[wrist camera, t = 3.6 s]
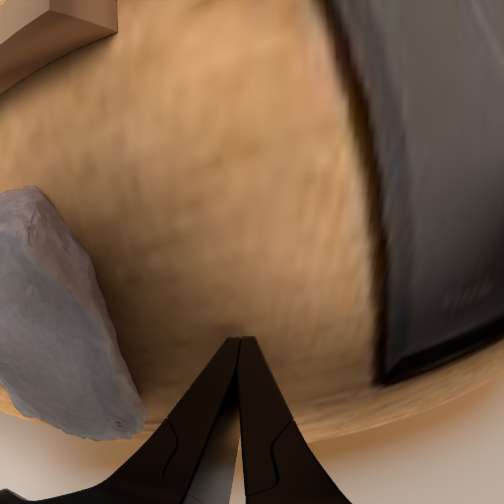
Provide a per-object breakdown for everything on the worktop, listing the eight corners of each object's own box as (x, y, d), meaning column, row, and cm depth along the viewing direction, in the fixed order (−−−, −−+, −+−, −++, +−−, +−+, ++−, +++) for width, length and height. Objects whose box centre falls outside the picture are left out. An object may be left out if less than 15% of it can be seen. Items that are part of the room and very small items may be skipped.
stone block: (79, 147, 9) (-50, 232, 8) (5, 180, 5) (-102, 279, 4) (184, 366, 15) (53, 386, 14) (186, 444, 10) (37, 444, 10)
